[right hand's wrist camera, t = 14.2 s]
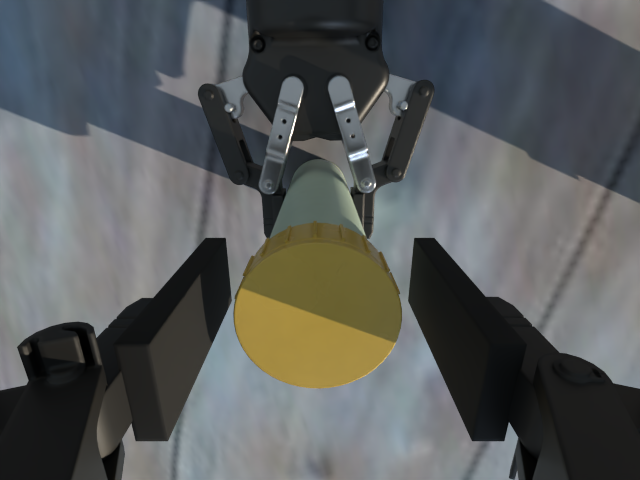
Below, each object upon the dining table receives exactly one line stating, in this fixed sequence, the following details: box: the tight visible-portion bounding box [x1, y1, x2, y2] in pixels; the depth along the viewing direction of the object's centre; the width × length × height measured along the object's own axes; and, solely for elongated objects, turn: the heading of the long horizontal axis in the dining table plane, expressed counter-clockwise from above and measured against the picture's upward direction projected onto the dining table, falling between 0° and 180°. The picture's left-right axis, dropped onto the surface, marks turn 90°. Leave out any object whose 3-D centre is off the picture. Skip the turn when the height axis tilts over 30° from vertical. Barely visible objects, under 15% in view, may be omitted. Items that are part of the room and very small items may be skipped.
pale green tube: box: [269, 159, 366, 239], centre depth 20 cm, size 4×4×20 cm
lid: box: [234, 221, 402, 388], centre depth 12 cm, size 5×5×2 cm
